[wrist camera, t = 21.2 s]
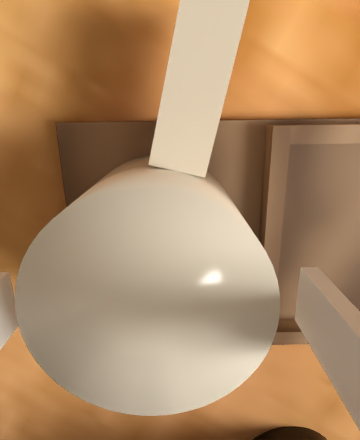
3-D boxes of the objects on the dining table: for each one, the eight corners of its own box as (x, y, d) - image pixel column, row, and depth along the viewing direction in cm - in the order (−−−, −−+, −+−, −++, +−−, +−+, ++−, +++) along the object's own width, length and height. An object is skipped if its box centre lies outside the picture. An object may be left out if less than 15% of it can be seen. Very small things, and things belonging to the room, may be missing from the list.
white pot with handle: (215, 312, 22) (238, 431, 14) (74, 285, 22) (7, 394, 13) (296, 41, 17) (414, -34, 9) (114, -7, 16) (46, -141, 8)
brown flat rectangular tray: (87, 329, 24) (77, 351, 22) (61, 122, 19) (46, 123, 17) (441, 323, 24) (469, 344, 22) (500, 116, 19) (543, 116, 17)
